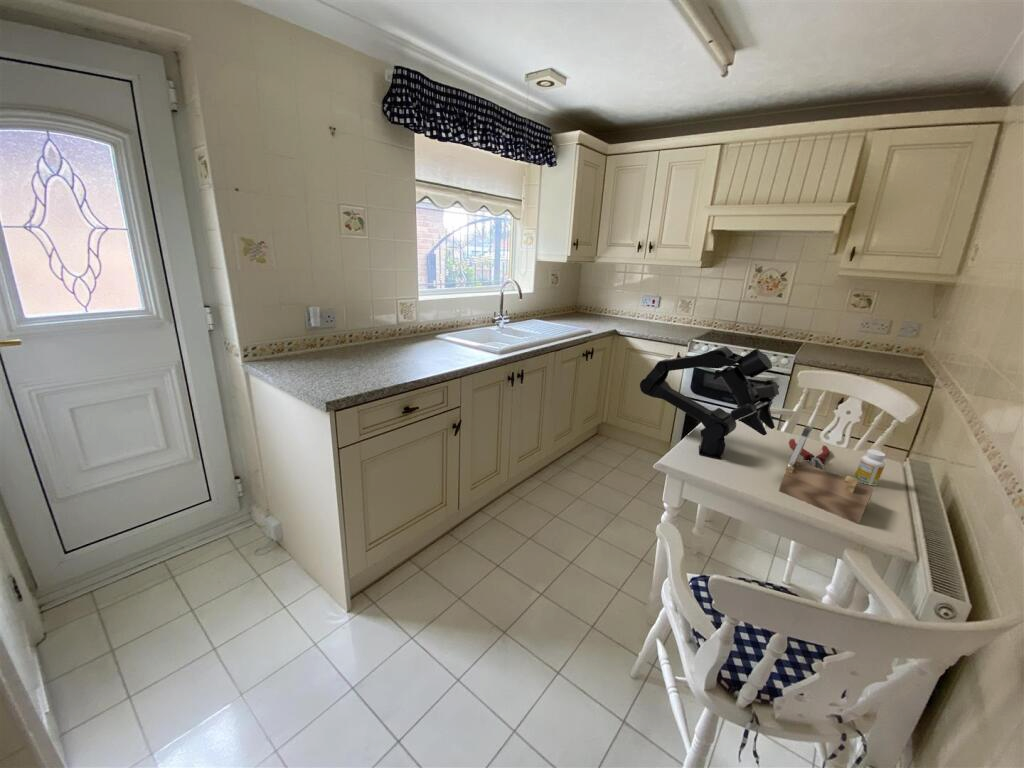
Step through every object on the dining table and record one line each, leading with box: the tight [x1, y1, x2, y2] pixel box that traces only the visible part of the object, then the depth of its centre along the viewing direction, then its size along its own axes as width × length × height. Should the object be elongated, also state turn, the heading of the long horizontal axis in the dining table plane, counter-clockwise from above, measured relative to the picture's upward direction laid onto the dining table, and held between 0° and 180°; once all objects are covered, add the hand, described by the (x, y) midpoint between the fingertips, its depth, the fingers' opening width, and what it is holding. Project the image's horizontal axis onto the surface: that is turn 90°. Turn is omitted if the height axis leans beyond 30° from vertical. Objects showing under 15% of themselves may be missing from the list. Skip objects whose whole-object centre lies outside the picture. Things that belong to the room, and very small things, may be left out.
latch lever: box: [786, 425, 813, 467], centre depth 116 cm, size 13×4×1 cm
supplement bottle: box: [854, 448, 886, 486], centre depth 123 cm, size 5×5×10 cm
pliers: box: [788, 438, 831, 471], centre depth 136 cm, size 12×20×3 cm, turn 155°
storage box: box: [778, 459, 875, 525], centre depth 113 cm, size 18×12×8 cm, turn 43°
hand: (769, 431), depth 121 cm, fingers open, 7 cm apart
